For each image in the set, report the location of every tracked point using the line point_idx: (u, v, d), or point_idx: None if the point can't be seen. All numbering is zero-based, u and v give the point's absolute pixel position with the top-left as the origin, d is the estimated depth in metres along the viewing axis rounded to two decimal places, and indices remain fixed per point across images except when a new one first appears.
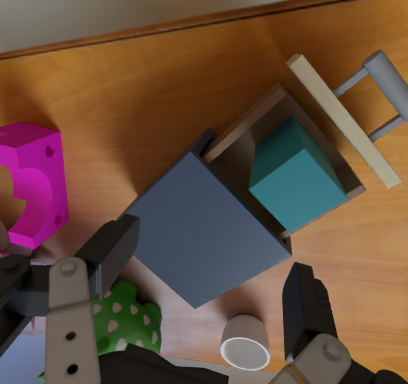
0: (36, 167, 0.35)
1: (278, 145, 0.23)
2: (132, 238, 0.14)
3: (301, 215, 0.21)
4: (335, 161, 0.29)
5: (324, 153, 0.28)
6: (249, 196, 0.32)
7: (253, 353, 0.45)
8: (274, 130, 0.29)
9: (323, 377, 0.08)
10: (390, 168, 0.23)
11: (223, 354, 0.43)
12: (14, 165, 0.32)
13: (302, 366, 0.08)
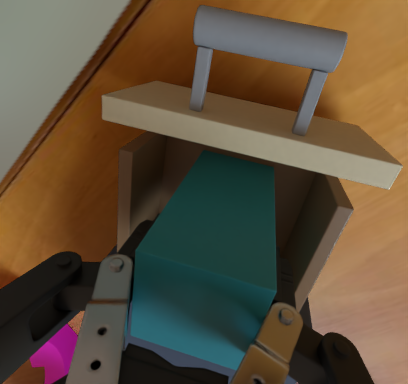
0: None
1: None
2: None
3: (230, 342, 0.11)
4: (303, 171, 0.18)
5: (272, 175, 0.17)
6: None
7: None
8: None
9: (283, 342, 0.09)
10: (362, 159, 0.12)
11: None
12: None
13: (264, 338, 0.09)
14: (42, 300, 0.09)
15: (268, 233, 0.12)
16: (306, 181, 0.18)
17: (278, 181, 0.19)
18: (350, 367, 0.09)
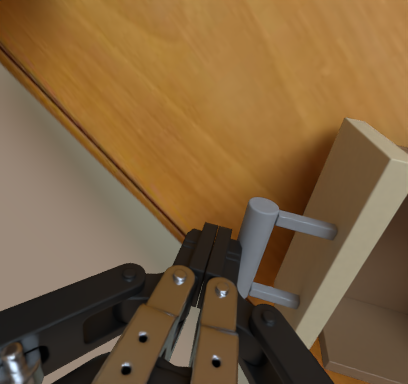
0: None
1: None
2: (212, 246, 0.14)
3: None
4: None
5: None
6: None
7: None
8: None
9: (226, 314, 0.09)
10: (373, 197, 0.10)
11: None
12: None
13: (209, 317, 0.09)
14: (99, 307, 0.09)
15: None
16: None
17: None
18: (279, 332, 0.09)
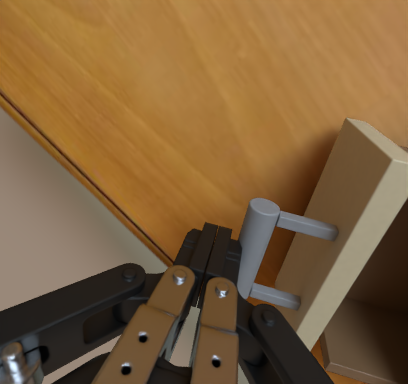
0: None
1: None
2: (212, 246, 0.14)
3: None
4: None
5: None
6: None
7: None
8: None
9: (226, 314, 0.09)
10: (374, 198, 0.10)
11: None
12: None
13: (209, 317, 0.09)
14: (99, 307, 0.09)
15: None
16: None
17: None
18: (279, 332, 0.09)
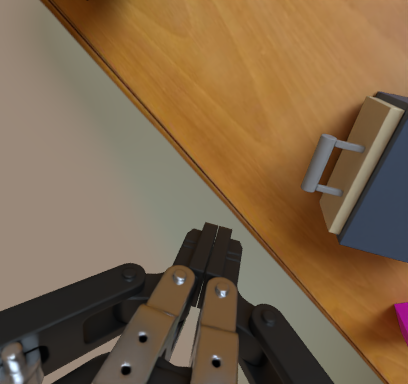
0: None
1: None
2: (212, 246, 0.14)
3: None
4: None
5: None
6: None
7: None
8: None
9: (226, 314, 0.09)
10: (383, 126, 0.24)
11: None
12: None
13: (209, 317, 0.09)
14: (99, 307, 0.09)
15: None
16: None
17: None
18: (279, 332, 0.09)
